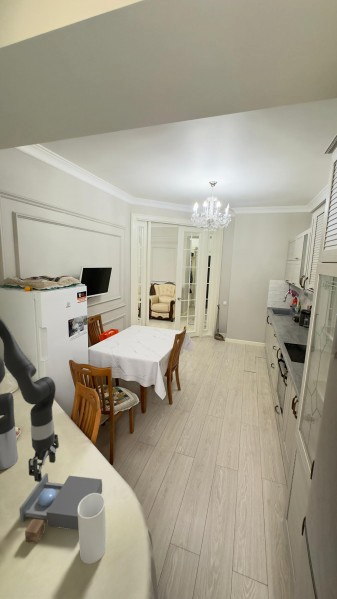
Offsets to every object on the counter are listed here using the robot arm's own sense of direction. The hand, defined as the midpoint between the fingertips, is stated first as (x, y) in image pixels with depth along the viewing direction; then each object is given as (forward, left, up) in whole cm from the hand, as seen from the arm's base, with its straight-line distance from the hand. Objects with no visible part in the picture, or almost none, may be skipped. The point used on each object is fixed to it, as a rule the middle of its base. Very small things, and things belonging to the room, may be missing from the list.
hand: (45, 470), depth 91 cm
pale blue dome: (0, 0, -12) cm, 12 cm away
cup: (+24, -12, -14) cm, 30 cm away
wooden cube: (+3, -11, -14) cm, 18 cm away
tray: (+2, 0, -14) cm, 14 cm away
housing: (+12, 0, -14) cm, 18 cm away
